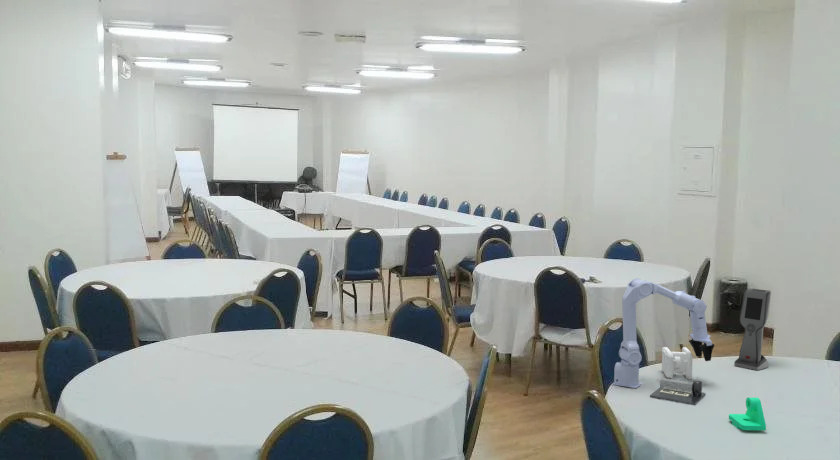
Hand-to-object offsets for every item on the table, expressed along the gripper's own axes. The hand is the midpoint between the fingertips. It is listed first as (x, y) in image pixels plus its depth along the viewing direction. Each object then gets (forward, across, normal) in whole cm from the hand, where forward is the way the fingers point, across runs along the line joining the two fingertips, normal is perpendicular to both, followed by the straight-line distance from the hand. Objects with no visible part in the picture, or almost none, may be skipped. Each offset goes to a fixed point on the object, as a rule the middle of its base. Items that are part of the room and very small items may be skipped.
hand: (703, 358), depth 288 cm
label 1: (+7, -13, +22) cm, 27 cm away
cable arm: (+7, -14, +18) cm, 24 cm away
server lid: (+7, -16, +20) cm, 27 cm away
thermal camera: (+17, +24, -34) cm, 45 cm away
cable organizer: (+10, +12, +8) cm, 17 cm away
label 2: (+8, -16, +18) cm, 26 cm away
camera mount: (+9, -51, +12) cm, 54 cm away
